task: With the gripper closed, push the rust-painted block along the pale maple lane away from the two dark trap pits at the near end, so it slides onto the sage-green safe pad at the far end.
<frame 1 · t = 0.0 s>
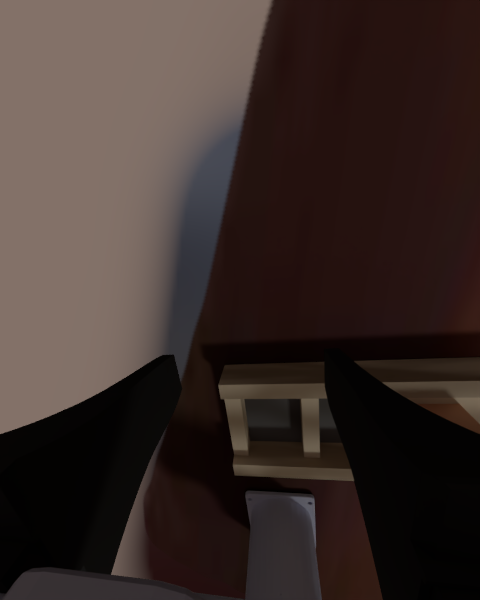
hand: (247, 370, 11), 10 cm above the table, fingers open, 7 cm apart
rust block: (421, 427, 21), point 2 cm above the table, touching trap lane
trap lane: (386, 409, 23), on the table
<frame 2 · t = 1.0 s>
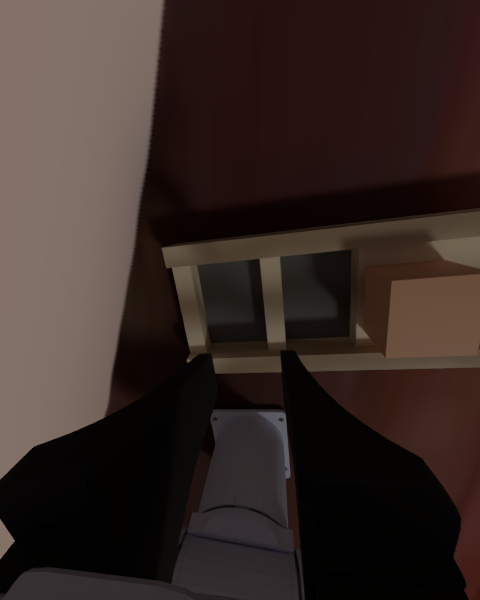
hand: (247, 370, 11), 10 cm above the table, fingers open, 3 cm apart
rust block: (400, 297, 18), point 2 cm above the table, touching trap lane
trap lane: (362, 291, 20), on the table
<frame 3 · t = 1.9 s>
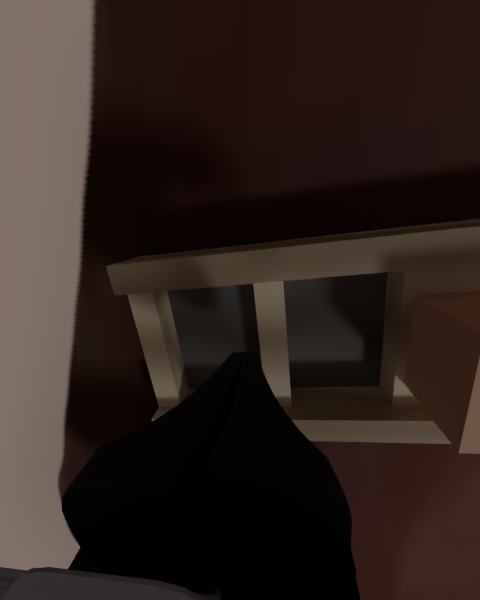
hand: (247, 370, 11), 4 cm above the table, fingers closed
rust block: (465, 340, 12), point 2 cm above the table, touching trap lane
trap lane: (400, 325, 14), on the table
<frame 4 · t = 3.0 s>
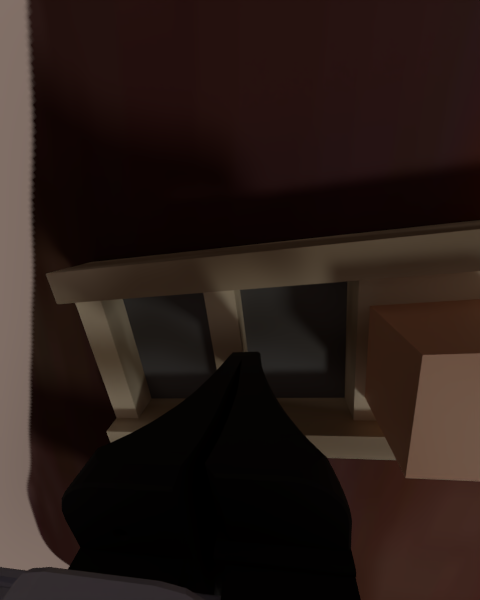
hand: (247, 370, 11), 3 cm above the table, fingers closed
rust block: (425, 353, 11), point 2 cm above the table, touching trap lane
trap lane: (363, 334, 13), on the table
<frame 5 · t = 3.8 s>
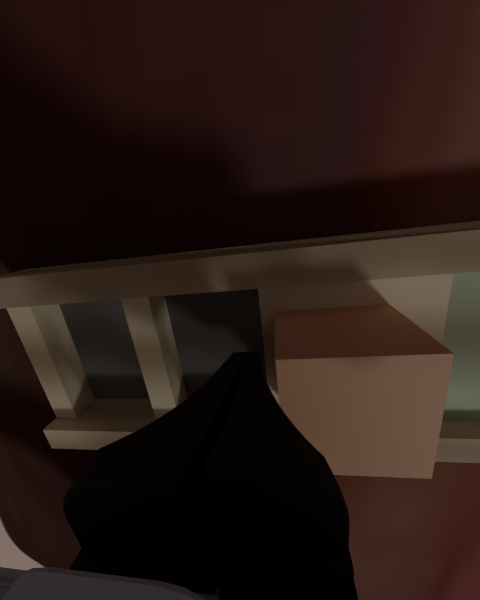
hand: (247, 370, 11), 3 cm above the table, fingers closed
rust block: (330, 355, 12), point 2 cm above the table, touching gripper
trap lane: (283, 338, 14), on the table
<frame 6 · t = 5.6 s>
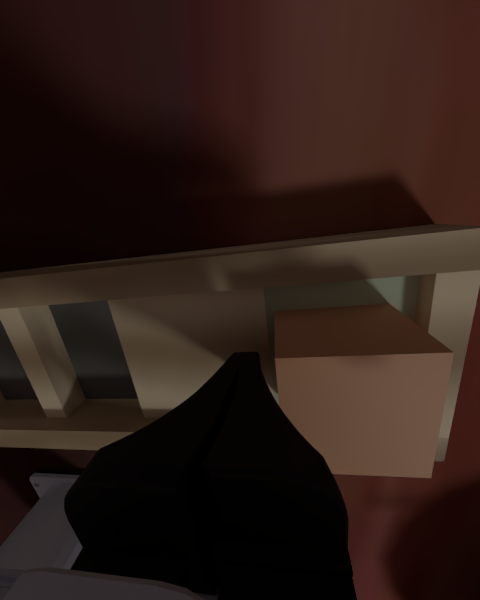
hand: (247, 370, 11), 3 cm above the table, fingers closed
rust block: (329, 355, 12), point 2 cm above the table, touching gripper
trap lane: (159, 343, 15), on the table
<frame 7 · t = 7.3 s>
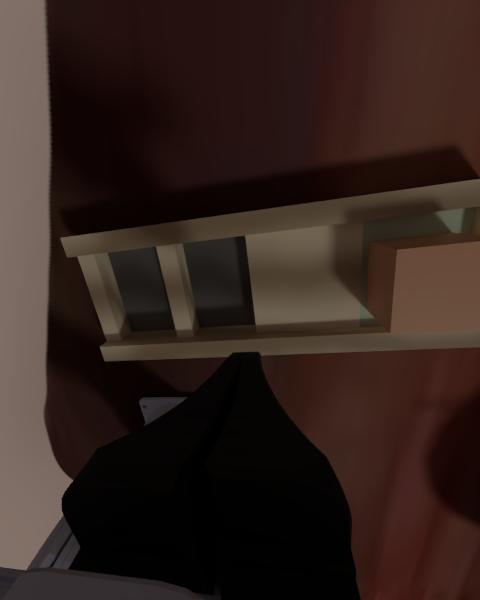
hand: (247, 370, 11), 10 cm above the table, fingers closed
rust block: (405, 273, 17), point 2 cm above the table, touching trap lane
trap lane: (265, 279, 20), on the table
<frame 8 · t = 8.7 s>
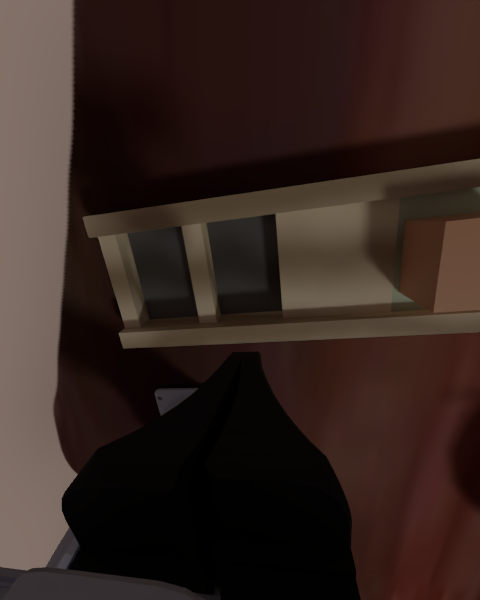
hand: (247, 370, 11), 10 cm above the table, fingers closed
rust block: (441, 254, 16), point 2 cm above the table, touching trap lane
trap lane: (291, 263, 20), on the table
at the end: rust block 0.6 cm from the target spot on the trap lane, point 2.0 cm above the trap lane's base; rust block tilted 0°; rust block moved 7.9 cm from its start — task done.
